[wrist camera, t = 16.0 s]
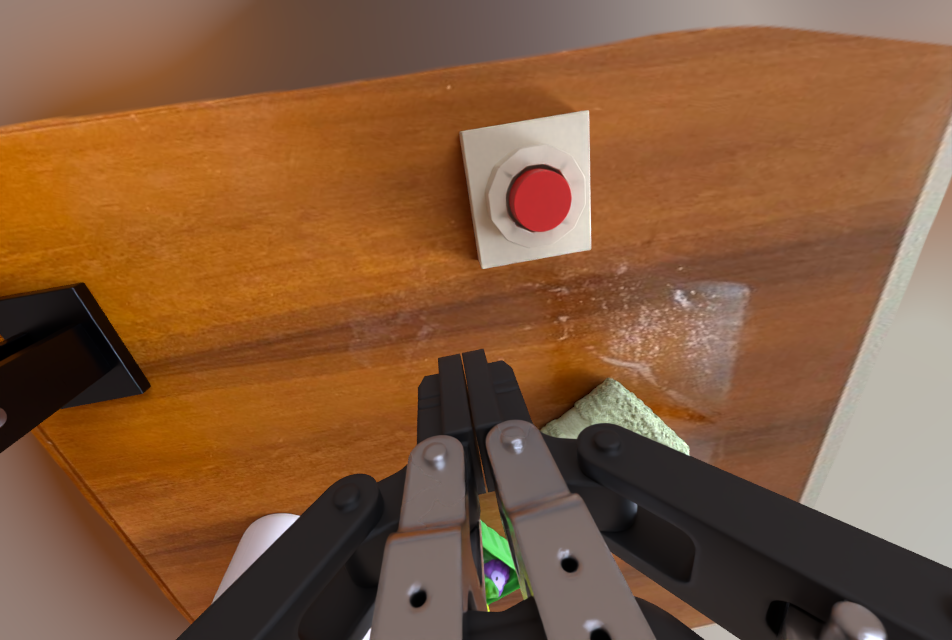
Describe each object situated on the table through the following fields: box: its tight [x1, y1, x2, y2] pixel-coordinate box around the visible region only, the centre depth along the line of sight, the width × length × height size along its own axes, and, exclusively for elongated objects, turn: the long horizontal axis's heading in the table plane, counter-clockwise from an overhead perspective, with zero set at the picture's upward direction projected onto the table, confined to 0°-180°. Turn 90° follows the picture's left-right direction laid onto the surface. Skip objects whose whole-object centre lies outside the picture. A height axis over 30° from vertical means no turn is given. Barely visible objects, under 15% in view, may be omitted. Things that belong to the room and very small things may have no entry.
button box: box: [459, 110, 591, 269], centre depth 29 cm, size 10×9×4 cm
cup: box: [212, 513, 300, 603], centre depth 41 cm, size 8×12×10 cm
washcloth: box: [539, 378, 690, 456], centre depth 42 cm, size 13×18×3 cm
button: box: [509, 168, 572, 232], centre depth 27 cm, size 4×4×2 cm
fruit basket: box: [481, 521, 520, 612], centre depth 43 cm, size 11×9×11 cm
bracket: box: [0, 283, 151, 453], centre depth 27 cm, size 10×7×12 cm
